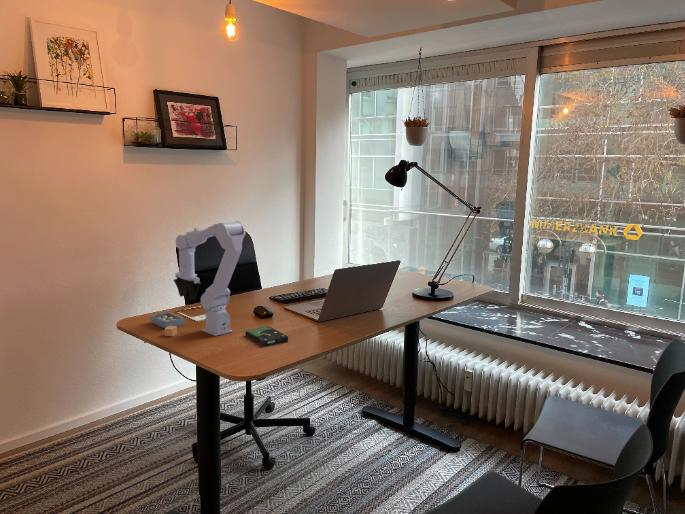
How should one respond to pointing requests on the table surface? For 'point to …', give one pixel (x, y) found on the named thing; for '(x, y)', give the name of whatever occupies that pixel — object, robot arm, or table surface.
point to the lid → (170, 330)
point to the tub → (167, 320)
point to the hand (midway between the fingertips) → (187, 297)
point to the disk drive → (266, 336)
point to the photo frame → (196, 318)
